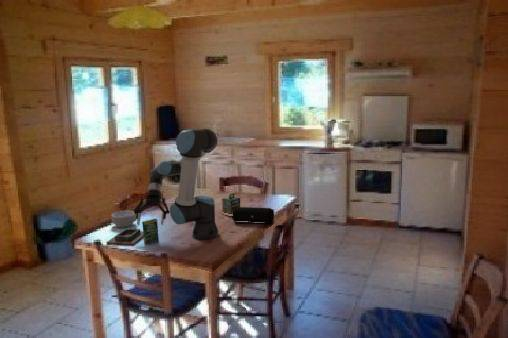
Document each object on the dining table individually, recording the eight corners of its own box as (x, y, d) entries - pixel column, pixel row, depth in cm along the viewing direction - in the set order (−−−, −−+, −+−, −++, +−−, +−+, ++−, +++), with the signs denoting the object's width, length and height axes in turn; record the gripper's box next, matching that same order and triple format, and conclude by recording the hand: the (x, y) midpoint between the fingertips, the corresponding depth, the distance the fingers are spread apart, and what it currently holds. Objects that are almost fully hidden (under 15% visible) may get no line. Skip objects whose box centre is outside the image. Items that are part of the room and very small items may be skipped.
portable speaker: (232, 224, 277) (232, 209, 275) (235, 219, 287) (235, 205, 285) (272, 225, 273) (272, 210, 271) (274, 221, 283) (274, 206, 281)
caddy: (148, 233, 261) (148, 227, 260) (133, 245, 240) (133, 239, 240) (123, 232, 263) (122, 226, 263) (106, 244, 243) (106, 238, 242)
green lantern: (231, 211, 306) (231, 191, 303) (241, 214, 300) (240, 193, 297) (222, 214, 299) (221, 193, 297) (231, 217, 293) (230, 195, 291)
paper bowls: (129, 229, 269) (129, 217, 267) (107, 228, 272) (106, 216, 270) (140, 222, 283) (140, 210, 282) (119, 221, 286) (118, 209, 285)
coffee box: (145, 245, 241) (143, 222, 239) (143, 243, 243) (142, 220, 241) (159, 242, 245) (157, 219, 243) (156, 240, 248) (155, 218, 246)
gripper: (176, 195, 262) (173, 226, 250) (134, 195, 262) (129, 227, 250) (174, 188, 256) (171, 220, 244) (131, 189, 256) (126, 221, 244)
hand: (150, 224), depth 247 cm, fingers open, 13 cm apart
